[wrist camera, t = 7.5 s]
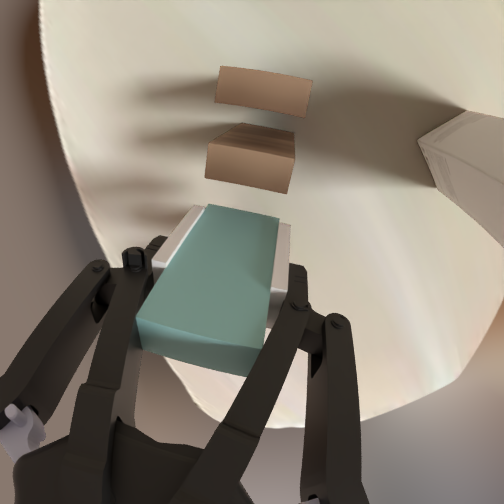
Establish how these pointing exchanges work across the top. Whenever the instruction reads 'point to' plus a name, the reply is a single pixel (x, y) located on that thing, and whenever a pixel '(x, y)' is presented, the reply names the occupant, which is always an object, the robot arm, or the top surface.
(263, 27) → the top surface
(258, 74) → the domino
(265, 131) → the domino
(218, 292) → the teal tile
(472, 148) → the skincare box
